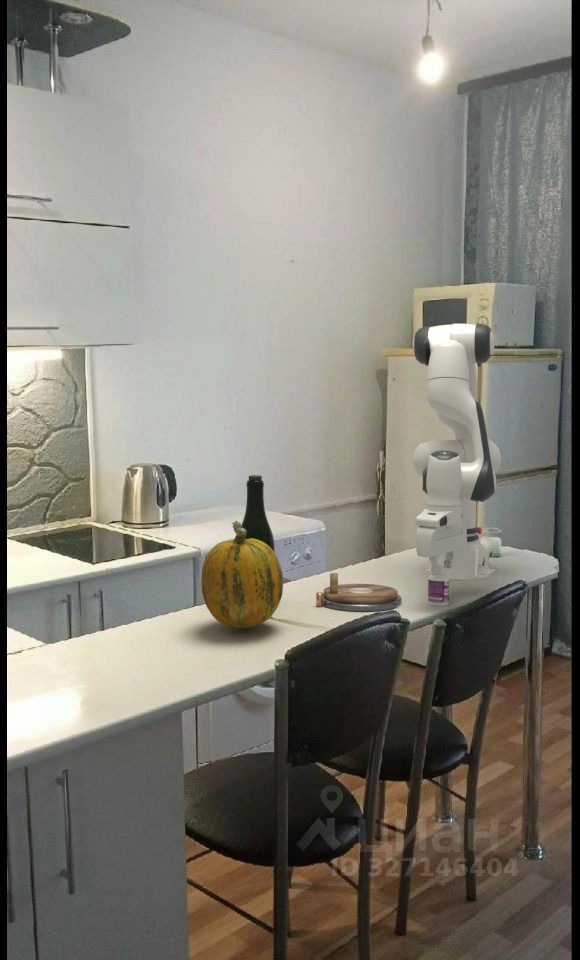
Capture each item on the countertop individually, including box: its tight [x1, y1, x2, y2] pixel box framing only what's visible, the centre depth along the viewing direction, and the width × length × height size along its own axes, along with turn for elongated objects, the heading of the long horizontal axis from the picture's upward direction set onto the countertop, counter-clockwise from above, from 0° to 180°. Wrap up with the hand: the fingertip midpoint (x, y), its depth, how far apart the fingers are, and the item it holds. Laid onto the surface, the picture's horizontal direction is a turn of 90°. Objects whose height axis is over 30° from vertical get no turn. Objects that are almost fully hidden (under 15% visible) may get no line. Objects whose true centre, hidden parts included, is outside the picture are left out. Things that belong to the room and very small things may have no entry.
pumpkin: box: [200, 520, 284, 629], centre depth 214 cm, size 19×19×25 cm
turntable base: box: [315, 591, 403, 613], centre depth 238 cm, size 21×21×4 cm
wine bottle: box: [241, 474, 276, 554], centre depth 235 cm, size 10×10×33 cm
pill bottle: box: [427, 566, 450, 607], centre depth 235 cm, size 5×5×10 cm
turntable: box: [322, 572, 399, 605], centre depth 238 cm, size 19×19×6 cm
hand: (442, 570), depth 235 cm, fingers open, 5 cm apart
